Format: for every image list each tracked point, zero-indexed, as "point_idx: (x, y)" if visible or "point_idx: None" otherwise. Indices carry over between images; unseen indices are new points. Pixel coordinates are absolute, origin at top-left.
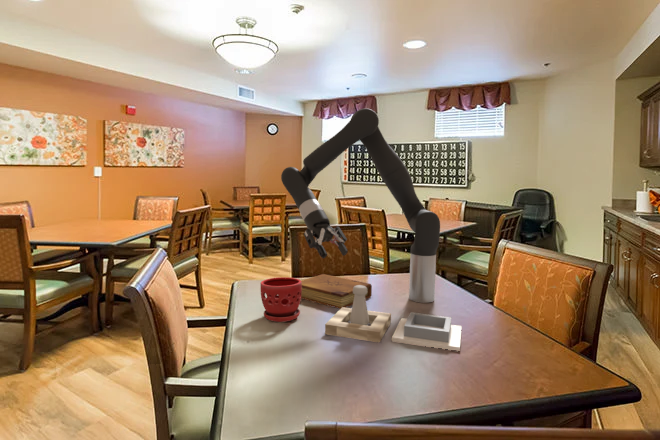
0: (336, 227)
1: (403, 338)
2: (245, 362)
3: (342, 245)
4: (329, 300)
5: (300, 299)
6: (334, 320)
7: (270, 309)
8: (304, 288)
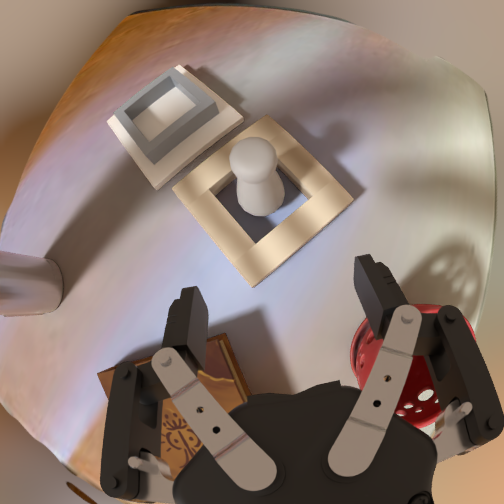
0: (128, 492)
1: (227, 106)
2: (480, 180)
3: (189, 326)
4: (236, 380)
5: (371, 329)
6: (323, 208)
7: None
8: None
